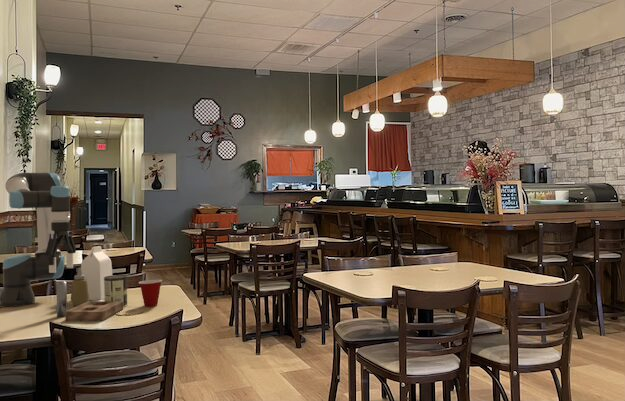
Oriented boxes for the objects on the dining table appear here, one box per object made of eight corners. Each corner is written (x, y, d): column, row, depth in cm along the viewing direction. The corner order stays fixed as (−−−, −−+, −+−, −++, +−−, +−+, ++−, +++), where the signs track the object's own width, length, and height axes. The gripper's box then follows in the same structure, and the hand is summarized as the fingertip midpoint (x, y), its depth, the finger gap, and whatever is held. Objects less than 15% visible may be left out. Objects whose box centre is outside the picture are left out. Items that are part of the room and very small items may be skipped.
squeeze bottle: (82, 307, 238) (81, 269, 238) (66, 306, 240) (66, 268, 239) (92, 303, 246) (92, 266, 246) (78, 303, 248) (77, 266, 247)
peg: (54, 317, 220) (54, 282, 220) (60, 315, 224) (59, 281, 224) (63, 317, 220) (63, 282, 219) (68, 315, 224) (68, 281, 223)
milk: (100, 299, 255) (100, 248, 255) (79, 299, 257) (79, 247, 256) (113, 295, 267) (113, 245, 266) (93, 294, 269) (93, 245, 268)
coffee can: (117, 303, 248) (117, 274, 248) (132, 305, 243) (131, 275, 242) (99, 307, 239) (99, 277, 239) (113, 309, 234) (113, 279, 234)
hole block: (65, 321, 213) (65, 311, 213) (89, 309, 233) (88, 301, 233) (102, 321, 212) (102, 311, 212) (123, 310, 232) (122, 301, 232)
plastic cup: (151, 302, 249) (151, 277, 249) (167, 304, 244) (167, 279, 244) (133, 306, 240) (133, 281, 240) (149, 309, 234) (149, 283, 234)
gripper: (52, 223, 208) (53, 274, 209) (83, 219, 233) (84, 266, 234) (35, 223, 209) (36, 274, 209) (67, 220, 234) (68, 266, 234)
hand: (61, 270), depth 221 cm, fingers open, 13 cm apart
